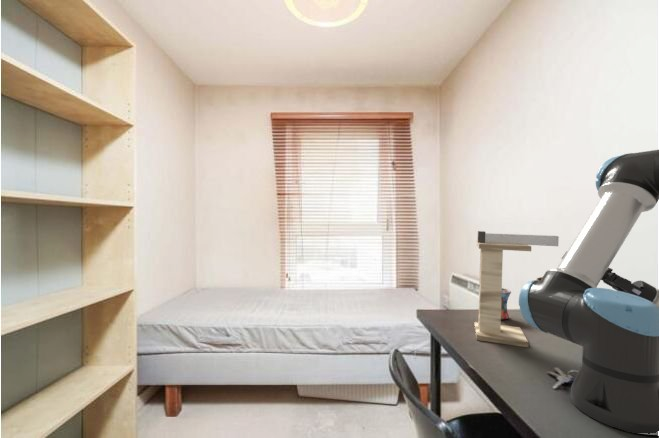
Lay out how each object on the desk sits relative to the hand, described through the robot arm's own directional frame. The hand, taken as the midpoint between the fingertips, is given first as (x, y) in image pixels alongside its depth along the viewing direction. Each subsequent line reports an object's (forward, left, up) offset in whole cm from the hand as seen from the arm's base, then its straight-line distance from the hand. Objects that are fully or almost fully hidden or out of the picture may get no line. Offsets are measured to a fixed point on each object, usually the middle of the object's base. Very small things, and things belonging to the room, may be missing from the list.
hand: (570, 256), depth 99 cm
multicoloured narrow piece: (+23, +17, -27) cm, 39 cm away
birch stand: (0, +19, -27) cm, 33 cm away
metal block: (0, +15, +3) cm, 15 cm away
